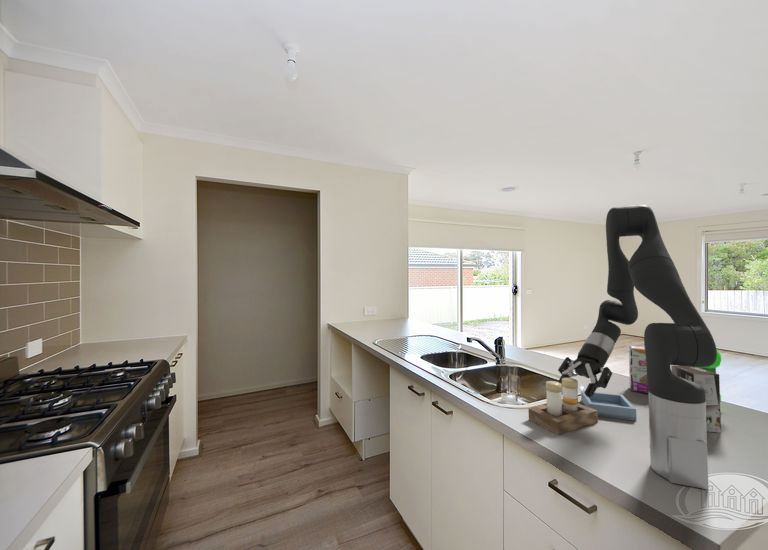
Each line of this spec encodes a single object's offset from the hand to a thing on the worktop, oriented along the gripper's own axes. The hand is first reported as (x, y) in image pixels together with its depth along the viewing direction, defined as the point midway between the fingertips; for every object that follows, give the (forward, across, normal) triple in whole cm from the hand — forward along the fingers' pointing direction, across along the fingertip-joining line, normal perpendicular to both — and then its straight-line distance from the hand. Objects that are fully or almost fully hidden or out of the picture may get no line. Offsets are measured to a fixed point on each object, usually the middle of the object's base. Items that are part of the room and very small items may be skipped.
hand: (573, 390), depth 95 cm
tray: (-4, +1, +16) cm, 17 cm away
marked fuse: (+7, 0, +5) cm, 9 cm away
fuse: (+12, 0, 0) cm, 12 cm away
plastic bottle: (-25, +12, +38) cm, 47 cm away
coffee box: (-13, +18, +26) cm, 34 cm away
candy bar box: (-25, -2, +38) cm, 45 cm away
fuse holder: (+9, 0, +2) cm, 10 cm away
